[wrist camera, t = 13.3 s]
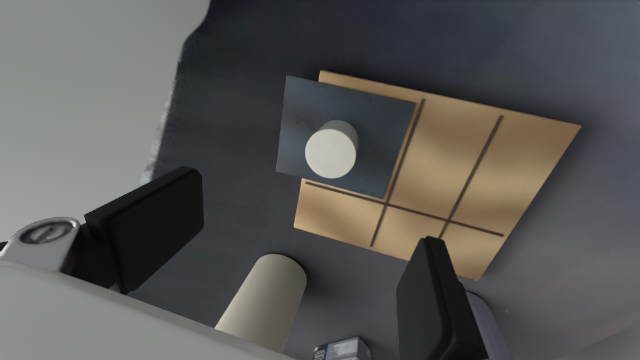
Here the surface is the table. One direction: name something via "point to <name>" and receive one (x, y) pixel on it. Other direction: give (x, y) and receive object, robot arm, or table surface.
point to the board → (418, 167)
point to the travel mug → (266, 303)
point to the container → (489, 329)
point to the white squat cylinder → (332, 149)
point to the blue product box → (344, 350)
